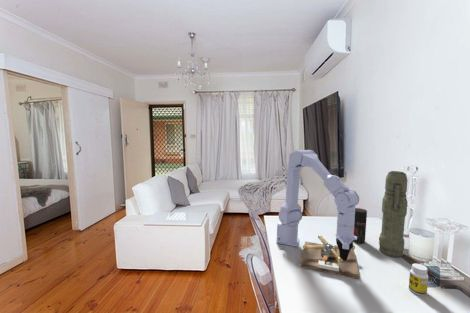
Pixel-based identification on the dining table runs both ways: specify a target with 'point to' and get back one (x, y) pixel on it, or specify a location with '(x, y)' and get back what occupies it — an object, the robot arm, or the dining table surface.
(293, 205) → the robot arm
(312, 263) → the stand board
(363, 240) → the deodorant
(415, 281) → the supplement bottle
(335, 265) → the frame
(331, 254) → the capstan
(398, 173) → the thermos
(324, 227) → the dining table surface
